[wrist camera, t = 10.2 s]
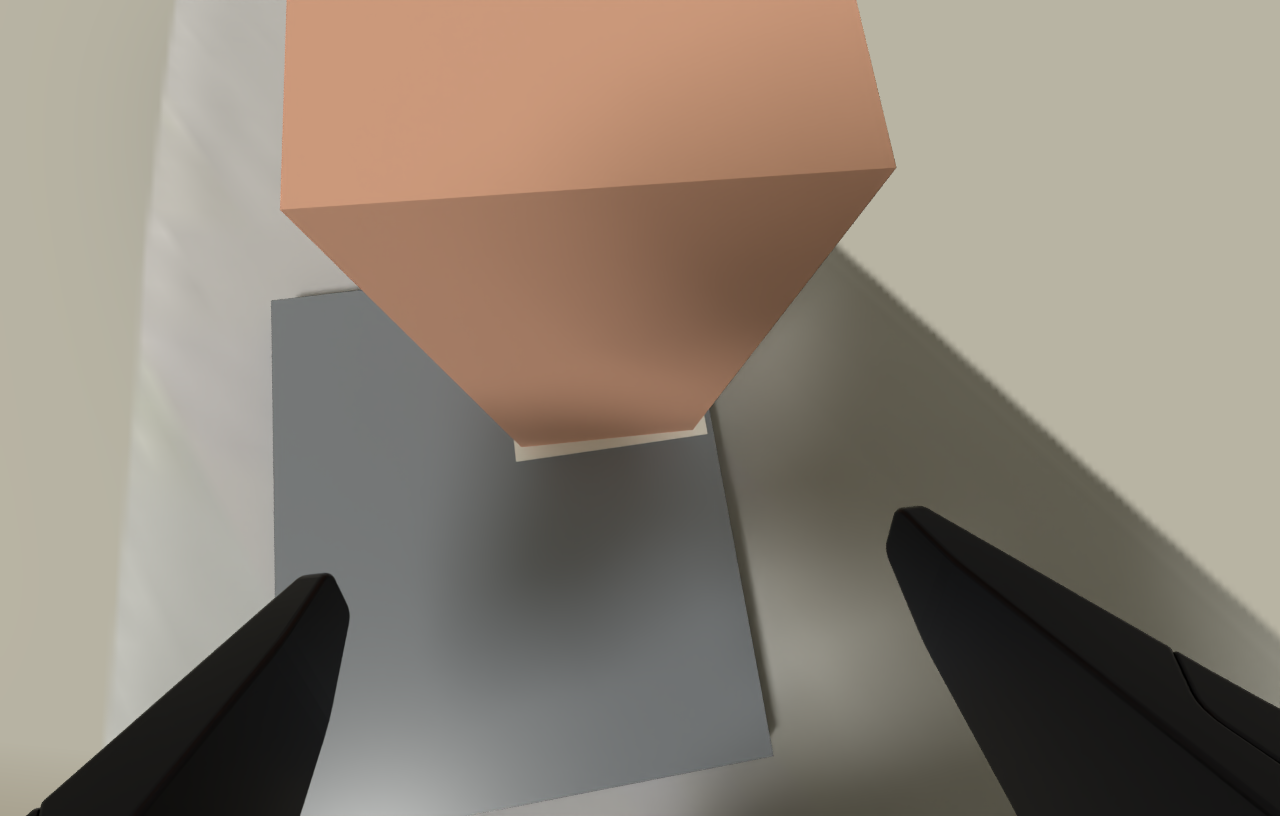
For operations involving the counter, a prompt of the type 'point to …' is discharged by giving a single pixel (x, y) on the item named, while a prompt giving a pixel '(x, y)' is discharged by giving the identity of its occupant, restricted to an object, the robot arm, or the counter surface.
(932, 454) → the counter surface
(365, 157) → the column
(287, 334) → the baseplate
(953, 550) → the robot arm
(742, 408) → the counter surface
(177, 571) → the counter surface
